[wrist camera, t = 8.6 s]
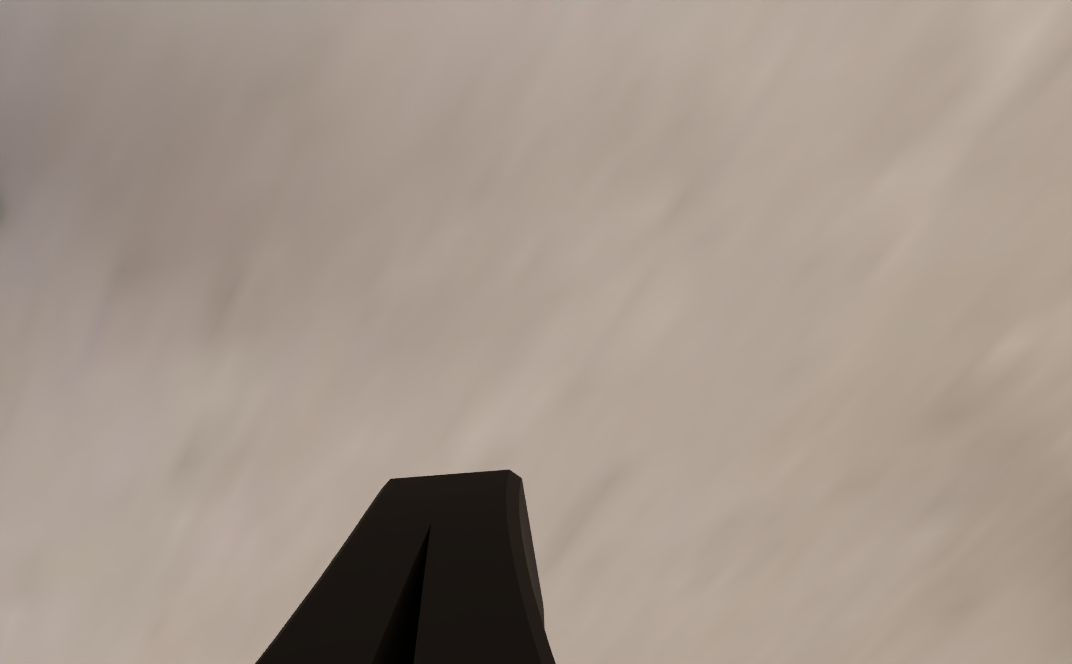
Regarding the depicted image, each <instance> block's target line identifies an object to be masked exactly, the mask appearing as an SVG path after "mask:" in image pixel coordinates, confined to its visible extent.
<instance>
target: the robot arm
mask: <svg viewBox="0 0 1072 664" xmlns="http://www.w3.org/2000/svg"><path fill="white" fill-rule="evenodd" d="M255 664H555V661H554V658H553V655H552V652H551V649H550V646H549V643H548V640H547V636H546V633H545V629H544V608H543V601H542V595H541V589H540V583H539V577H538V571H537V565H536V560H535V554H534V548H533V542H532V536H531V530H530V524H529V518H528V512H527V506H526V500H525V495H524V489H523V483H522V478H521V477H519V476H518V475H516V474H515V473H513V472H512V471H511V470H499V471H486V472H473V473H460V474H447V475H434V476H422V477H409V478H396V479H390V480H389V481H388V482H387V483H386V485H385V486H384V487H383V488H382V489H381V491H380V492H379V493H378V495H377V496H376V498H375V499H374V501H373V502H372V504H371V505H370V507H369V508H368V509H367V511H366V512H365V514H364V515H363V517H362V518H361V520H360V521H359V523H358V524H357V526H356V527H355V528H354V530H353V531H352V533H351V534H350V536H349V537H348V539H347V540H346V542H345V543H344V544H343V546H342V547H341V549H340V550H339V552H338V553H337V554H336V556H335V557H334V559H333V560H332V561H331V563H330V564H329V566H328V567H327V569H326V570H325V571H324V573H323V574H322V576H321V577H320V578H319V580H318V581H317V583H316V584H315V585H314V587H313V588H312V589H311V591H310V592H309V593H308V595H307V596H306V597H305V599H304V600H303V601H302V603H301V604H300V605H299V607H298V608H297V609H296V611H295V612H294V613H293V615H292V616H291V617H290V619H289V620H288V621H287V623H286V624H285V625H284V627H283V628H282V629H281V631H280V632H279V633H278V635H277V636H276V638H275V639H274V640H273V641H272V643H271V644H270V645H269V647H268V648H267V649H266V651H265V652H264V653H263V654H262V656H261V657H260V658H259V659H258V661H257V662H256V663H255Z"/></svg>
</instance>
